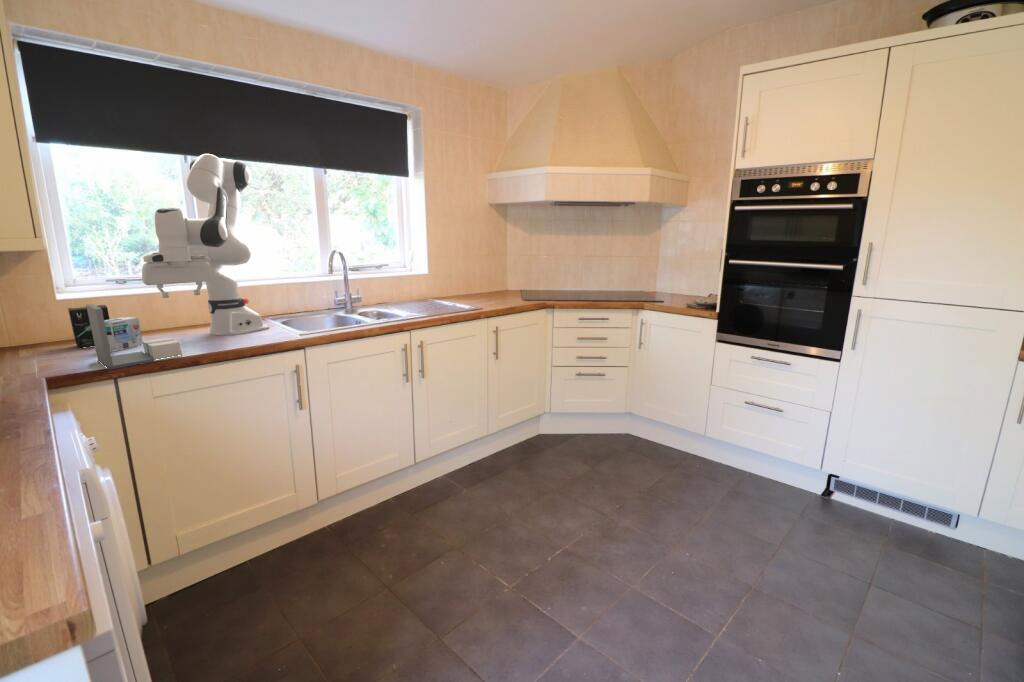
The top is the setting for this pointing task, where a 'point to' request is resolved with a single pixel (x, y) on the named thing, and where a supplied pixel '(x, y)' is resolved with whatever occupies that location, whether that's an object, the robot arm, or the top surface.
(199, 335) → the top surface
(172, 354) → the cream carton
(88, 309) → the display platform
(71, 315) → the tampon box
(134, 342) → the light bulb box
